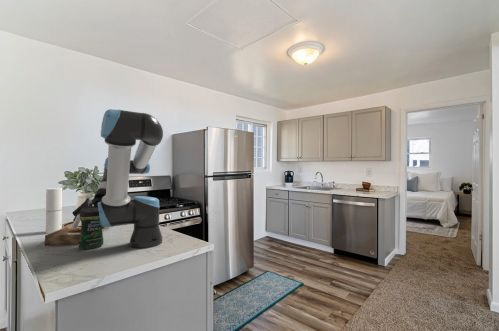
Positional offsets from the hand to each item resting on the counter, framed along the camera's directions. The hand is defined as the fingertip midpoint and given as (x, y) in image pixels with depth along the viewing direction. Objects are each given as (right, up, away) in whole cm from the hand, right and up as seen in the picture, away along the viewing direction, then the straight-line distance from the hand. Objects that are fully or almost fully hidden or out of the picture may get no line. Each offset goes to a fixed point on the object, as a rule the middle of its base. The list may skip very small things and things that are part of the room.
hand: (89, 227), depth 113 cm
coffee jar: (0, -10, +2) cm, 10 cm away
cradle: (-17, -9, +12) cm, 22 cm away
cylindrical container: (-38, -9, +26) cm, 47 cm away
